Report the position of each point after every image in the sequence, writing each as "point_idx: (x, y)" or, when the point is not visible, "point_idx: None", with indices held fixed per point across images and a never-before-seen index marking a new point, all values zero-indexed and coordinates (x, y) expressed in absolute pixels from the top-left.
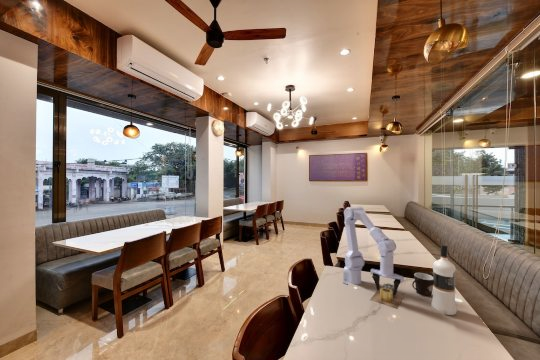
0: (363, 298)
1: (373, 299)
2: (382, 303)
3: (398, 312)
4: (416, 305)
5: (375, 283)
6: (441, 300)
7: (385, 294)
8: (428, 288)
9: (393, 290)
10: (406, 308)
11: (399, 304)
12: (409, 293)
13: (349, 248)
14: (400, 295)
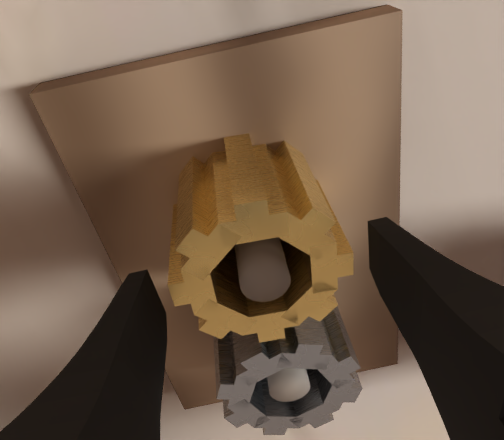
0: (486, 34)
1: (365, 68)
2: (230, 66)
3: (20, 76)
4: (34, 339)
5: (461, 266)
6: None
7: (233, 190)
8: None
9: (224, 358)
10: (40, 231)
11: (91, 217)
12: (185, 434)
13: None
14: (193, 364)
